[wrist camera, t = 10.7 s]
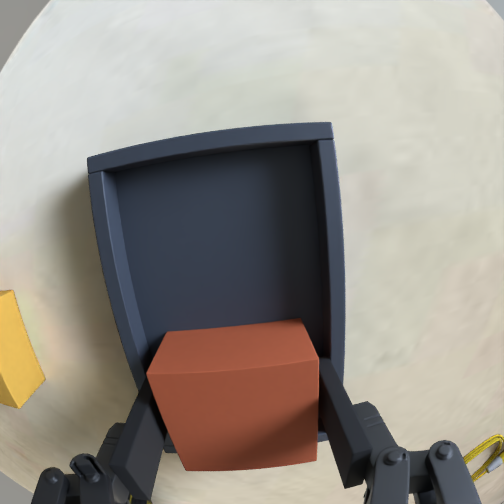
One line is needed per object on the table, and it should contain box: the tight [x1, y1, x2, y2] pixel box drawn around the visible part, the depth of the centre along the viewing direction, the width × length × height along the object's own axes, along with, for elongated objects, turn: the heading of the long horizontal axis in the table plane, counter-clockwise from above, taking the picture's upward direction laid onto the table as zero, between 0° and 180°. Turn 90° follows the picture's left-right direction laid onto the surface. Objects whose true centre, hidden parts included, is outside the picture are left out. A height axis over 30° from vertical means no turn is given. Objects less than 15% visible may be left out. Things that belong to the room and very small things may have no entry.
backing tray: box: [87, 122, 345, 453], centre depth 14 cm, size 18×11×2 cm, turn 6°
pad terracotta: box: [146, 318, 319, 471], centre depth 13 cm, size 7×7×4 cm
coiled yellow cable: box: [463, 434, 504, 482], centre depth 20 cm, size 12×16×2 cm
